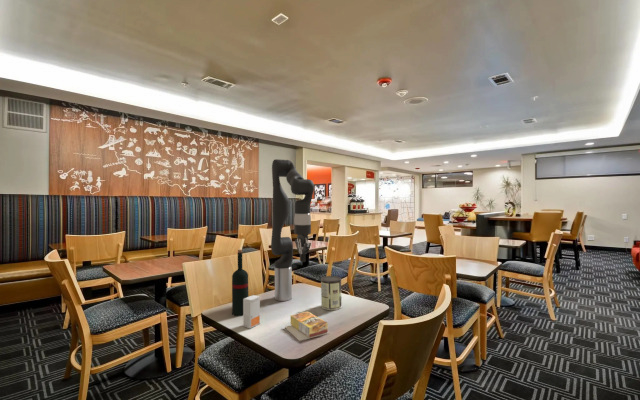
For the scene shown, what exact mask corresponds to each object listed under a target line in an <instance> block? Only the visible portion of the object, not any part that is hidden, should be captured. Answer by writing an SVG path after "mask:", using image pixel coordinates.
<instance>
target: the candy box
mask: <svg viewBox="0 0 640 400" xmlns="http://www.w3.org/2000/svg"><path fill="white" fill-rule="evenodd" d="M290 325H292V326H294V327H295V328H296V329H298V330H299V331H301V332H302V333H304V334H305V335H306V336H308V337H309V339H311V338H310V337H313V336H316V335H319V334H323V333H326V332H329V330H328V325H329V323H328V322H327V321H325V320H324V319H322V318H319V317H318V316H317V315H315V314H313V313H311V312H310V311H303V312H298V313H295V314H290ZM313 338H314V337H313Z"/></svg>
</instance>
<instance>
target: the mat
mask: <svg viewBox="0 0 640 400" xmlns="http://www.w3.org/2000/svg"><path fill="white" fill-rule="evenodd" d="M284 327H285V329H286V330H287V331H288V332H289V333H290V334H291V335H292V336H293V337H295V339H297V340H298V342H301V341H305V340H309V339H312V338H316V337H321V336H325V335H327V334H330V332H329V331H328V332H326V333H323V334H319V335H316V336H313V337H310V338H309V337H308V336H306V335H305V334H304V333H302V332H301V331H299V330H298V329H296V328H295V327H294V326H292V325H291V324H290V325H288V326H284Z"/></svg>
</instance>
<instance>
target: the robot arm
mask: <svg viewBox="0 0 640 400" xmlns="http://www.w3.org/2000/svg"><path fill="white" fill-rule="evenodd" d="M271 175H272V176H271V177H272V178H271V179H272V229H271V230H272V231H271V240H270V241H271V242H270V248H271V253H272V254H273V255H274V256H280V258H279V259H277V260H275V261H274V300H276V301H279V302H286V301H287V302H288V301H290V300H292V299H293V284H292V283H293V282H292V281H293V278H292V277H293V274H292V273H293V272H292V270H293V269H292V267H293V266H292V264H293V259H294V258H293V256H294V243H295V246H296V249H297V252H298V253H299V262H301V263H305V262H307V260H306V259H307V258H306V257H307V256H306V255H307V254H308V253H309V251H310V248H311V246H312V242H309V235H311V233H312V216H311V204H312V199H313V195H314V192H315V183H314V180H311V179H305V178H304V177H303V176H302V174H300V173H299V172H298V170H297V169H296V167H295V165H294V162H293V161H291V160H289V159H280V158H279V159H275V158H274V159H273V161H272V164H271ZM282 177H283V178H285V179H286V182H287V183H288V185H289V186H290V190H291V193H292V194H293V195H297V196H304V197H303V198H301V199H299V200H296V201H295V202H294V219H293V220H294V222H293V224H294V225H293V226H294V227H293V228H294V230H293V231H294V234H295V235H296V239H295V240H294V243H293V240H292V239H291V237H290V236H285V237H282V230H283V227H284V225H285V224H286V222H287V220H288V218H289V216H290V211H291V210H290V209H291V208H290V207H291V206H290V205H291V204H290V203H291V202H290V199H289V197H288V195H287V194H286V192H285V190H284V188H283V187H282V185H281V182H280V178H282Z"/></svg>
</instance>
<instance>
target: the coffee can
mask: <svg viewBox="0 0 640 400" xmlns="http://www.w3.org/2000/svg"><path fill="white" fill-rule="evenodd" d="M320 290H321V291H320V292H321V299H320V300H321V302H320V303H321V308H322V309H323V310H326V311H336V310H340V309H342V307H343V306H342V277H339V276H335V275H328V276H322V277H321V278H320Z"/></svg>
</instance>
